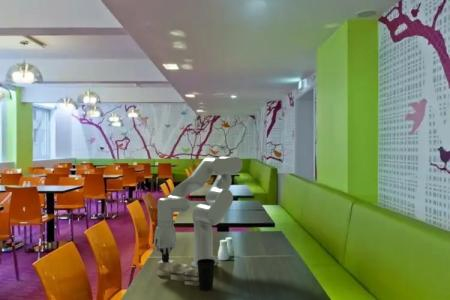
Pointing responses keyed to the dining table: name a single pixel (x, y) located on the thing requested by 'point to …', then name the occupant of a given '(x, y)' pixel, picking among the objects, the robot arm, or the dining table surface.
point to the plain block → (164, 267)
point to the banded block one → (178, 271)
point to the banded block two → (191, 277)
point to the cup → (206, 274)
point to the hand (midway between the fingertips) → (165, 261)
